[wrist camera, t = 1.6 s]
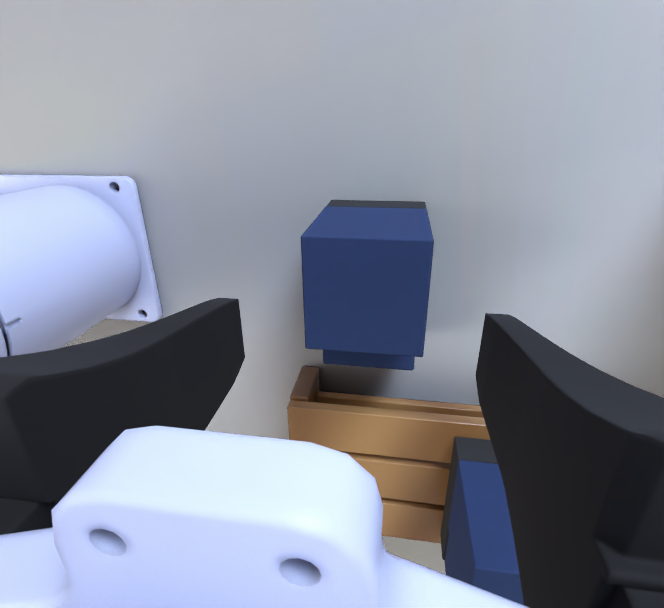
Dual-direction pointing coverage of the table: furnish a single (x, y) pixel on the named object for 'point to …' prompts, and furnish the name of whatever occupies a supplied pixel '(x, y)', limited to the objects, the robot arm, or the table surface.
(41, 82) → the table surface
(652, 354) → the table surface
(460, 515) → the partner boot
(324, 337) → the blue block
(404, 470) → the shoe rack
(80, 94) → the table surface
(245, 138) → the table surface
